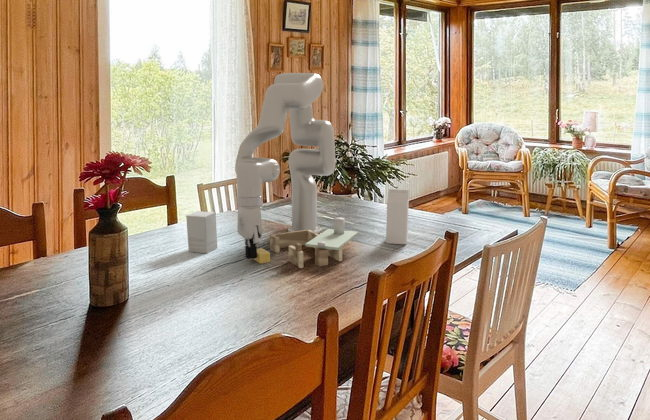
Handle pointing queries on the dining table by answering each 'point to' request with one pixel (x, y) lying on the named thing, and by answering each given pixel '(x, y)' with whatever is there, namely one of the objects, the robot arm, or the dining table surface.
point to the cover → (333, 236)
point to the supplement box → (201, 231)
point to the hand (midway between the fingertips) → (251, 257)
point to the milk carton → (397, 216)
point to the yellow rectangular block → (262, 256)
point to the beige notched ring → (296, 252)
